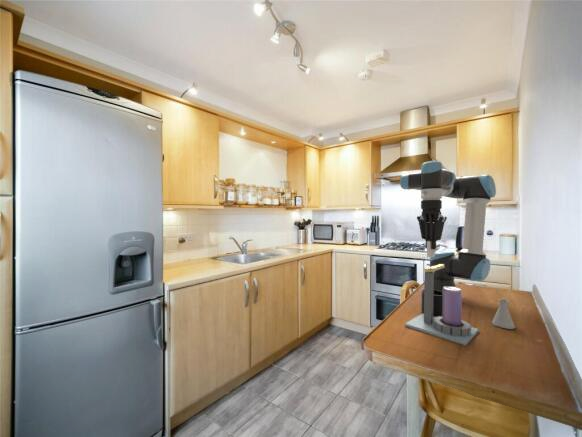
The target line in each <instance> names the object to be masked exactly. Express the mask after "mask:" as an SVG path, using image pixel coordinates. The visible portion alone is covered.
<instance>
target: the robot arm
mask: <svg viewBox="0 0 582 437" xmlns="http://www.w3.org/2000/svg"><path fill="white" fill-rule="evenodd" d="M420 169H421V170H420V172H419V171H418V172H411V173H410V172H408V173H406V174H405V173H404V174H402V175H401V177H400V179H399V186H400V188H401V189H403V190H408V191H409V190H417V191H420V193H421V194H420V198H421V201H420V208H421V210H422V211H421V215H419V216H417V217H416V220H417V221H418V226H419V230H420V237H421V239H423V240H425V248H426V257H427V258H429V267H432V266H436V265H439V264H443V265H445V267H444V268H442V269H439V270H436V271H435V272H434V290H438V291H442V292H443V287H445V286H452V287H457V286H456V282H455V278H456V279H461V280H468V281H473V282H474V281H475V282H483V281H486V279H487V278H488V277H489V273H490V272H491V271H490V270H491V261H490V259H489V258H487V254H486V253H485V252H484V240H485V239H484V237H485V224H486V214H487V213H486V212H487V205H488V204H490V202H491V199H492V198H495V197H496V194H497V189H496V182H495V179H494V178H493V177H492V176H491V175H490V174H476V175H470V176H469V175H468V176H462V177H461V176H460V177H456V174H455V173H454V172H453V171H452V170H449V169H446V168H445V169H444V168H443V163H442V161H437V160H431V161H430V160H429V161H425V162H423V163H422V164H421V168H420ZM443 197H445V198H449V199H462V202H463V203H465V214H464V228H463V234H462V235H463V237H462V238H463V239H462V247H461V248H462V249H460V250H459V251H458V254H456V253H455V252H454V251H437V252H436V249H437V242H438V241H441V240H442V235H443V232H444V231H443V230H444V226H445V223H446V221H447V219H448V217H447V216H444V215H442V211H441V209H442V207H443V206H442V202H443V201H442V200H441V199H442V198H443Z"/></svg>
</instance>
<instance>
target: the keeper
mask: <svg viewBox="0 0 582 437" xmlns="http://www.w3.org/2000/svg"><path fill="white" fill-rule="evenodd" d="M444 267H445V265H443V264H439V265H436V266H432V267H430V266H429V267H424V268H423V272H424V273H425V272H429V273H434V272H435V271H436V270H439V269H442V268H444Z"/></svg>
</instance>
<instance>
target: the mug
mask: <svg viewBox="0 0 582 437" xmlns="http://www.w3.org/2000/svg"><path fill="white" fill-rule="evenodd" d="M442 301H443V292H442V291H438V290H434V298H433V317H440V316H442ZM420 303H421V308H420V309H421V312H422V314H424V289H422V290H421V302H420Z"/></svg>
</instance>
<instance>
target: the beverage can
mask: <svg viewBox="0 0 582 437" xmlns="http://www.w3.org/2000/svg"><path fill="white" fill-rule="evenodd" d="M462 296H463V295H462V289H461V288H459V287H457V286H456V287H452V286H445V287H443V301H442V323H444V324H446V325H449V326H455V327H461V320H462V314H463V312H462V309H463V308H462V305H463V304H462V302H463V301H462V298H463V297H462Z"/></svg>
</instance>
